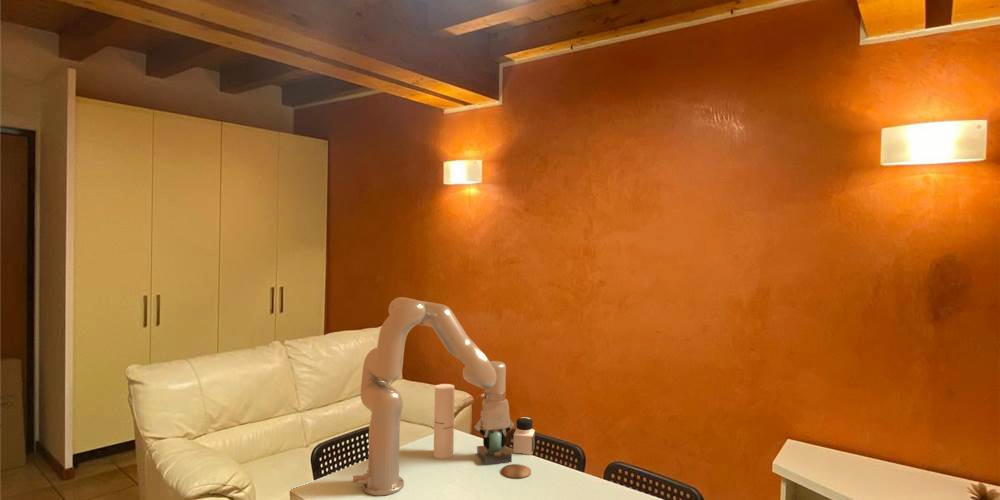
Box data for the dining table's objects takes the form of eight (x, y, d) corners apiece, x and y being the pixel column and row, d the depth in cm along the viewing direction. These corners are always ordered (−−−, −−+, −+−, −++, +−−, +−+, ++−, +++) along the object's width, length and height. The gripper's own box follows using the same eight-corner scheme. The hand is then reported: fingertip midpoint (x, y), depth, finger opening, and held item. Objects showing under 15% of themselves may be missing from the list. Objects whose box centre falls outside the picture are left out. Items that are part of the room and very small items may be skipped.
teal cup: (489, 453, 178) (489, 432, 178) (485, 448, 183) (485, 427, 183) (503, 452, 180) (503, 431, 180) (498, 446, 185) (499, 426, 185)
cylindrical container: (436, 450, 188) (437, 383, 188) (455, 451, 187) (456, 384, 187) (431, 457, 181) (432, 388, 181) (450, 459, 180) (451, 389, 180)
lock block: (484, 465, 175) (484, 454, 175) (477, 454, 185) (477, 444, 185) (511, 462, 178) (511, 451, 178) (503, 451, 188) (503, 441, 188)
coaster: (506, 480, 164) (506, 478, 164) (497, 467, 174) (497, 466, 174) (535, 476, 167) (535, 474, 167) (525, 464, 177) (525, 462, 177)
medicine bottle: (532, 455, 185) (532, 422, 185) (513, 453, 186) (513, 421, 187) (534, 448, 192) (535, 416, 192) (516, 446, 193) (516, 415, 194)
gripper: (474, 400, 176) (473, 452, 175) (520, 397, 181) (519, 448, 181) (469, 395, 183) (468, 445, 183) (514, 391, 188) (513, 440, 188)
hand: (494, 446), depth 182 cm, fingers closed on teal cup, 5 cm apart
